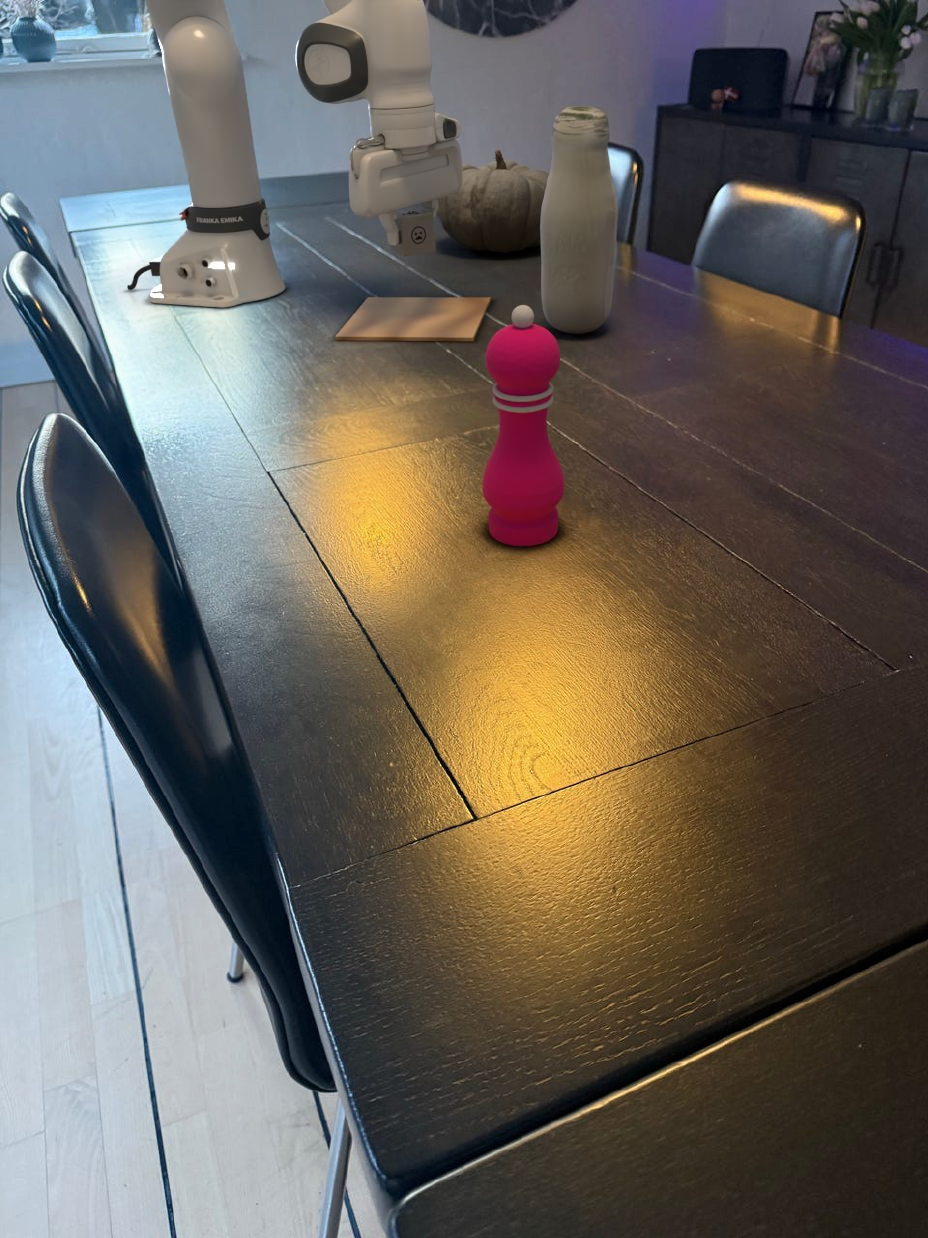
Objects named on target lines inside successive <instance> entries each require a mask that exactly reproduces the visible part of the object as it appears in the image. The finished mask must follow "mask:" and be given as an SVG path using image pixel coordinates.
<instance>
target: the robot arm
mask: <svg viewBox="0 0 928 1238" xmlns="http://www.w3.org/2000/svg"><path fill="white" fill-rule="evenodd" d="M321 1H322V3H323V5H324V8H325V9H326V11H327V13H328V16H325V17H324V18H322V19H320V20H317V21H315V22H313V23H311V24H309V25H308V26H307V27H305V28H304V30H303V31H302V32H301V34H300V35H299V37H298V40H297V43H296V47H295V66H296V71H297V74H298V77H299V80H300V83H301V84H302V86H303V87H304V89H305V90H306V92H307V93H308V94H309V95H310V96H311V97H312V98H313V99H314V100H316V101H319V102H321V103H325V104H329V105H340V104H345V103H353V102H358V101H362V100H366V102H367V106H368V107H367V108H368V118H369V128H370V136H369V137H367V138H365V137H364V138H363V137H362V138H359V139H357V140H356V141H355V144H354V145H353V146H352V148H351V150H350V151H349V167H348V194H349V195H348V198H349V200H348V201H349V208H350V210H351V212H353V214H354V215H355V216H357V217H362V218H375V217H378V220H379V222H380V224H381V226H382V227H383V228H384V231H385V232H386V242H387V244H388V245H398V244H401V231H400V230H398V228H397V226H396V223H395V221H394V219H396V218H397V215H396V212H397V211H401V210H403V209H407V208H410V207H414V206H417V205H421V208H423V210H424V211H427V212H430V213H433V216H434V220H435V219H436V217H437V216H436V213H437V210H438V198H442V197H446V196H449V195H453V194H456V193H458V192H459V191H460V188H461V185H462V164H463V157H462V148H461V144H460V142H459V141H458V140H457V139H458V138H459V137H460V136H461V123H460V121H459V120H458V119H455V118H452V117H449V116H446V115H444V114H442V113H440V112H436V109H435V108H436V106H435V105H436V104H435V97H434V94H433V91H432V86H431V75H432V70H433V57H432V44H431V33H430V25H429V19H428V15H427V8H426V6H425V3H424V0H321ZM144 3H145V6H146V8H147V11H148V14H149V17H150V20H151V22H152V26H153V28H154V31H155V34H156V37H157V40H158V43H159V46H160V49H161V54H162V55H161V57H162V65H163V70H164V75H165V80H166V85H167V89H168V95H169V99H170V103H171V107H172V113H173V117H174V121H175V127H176V130H177V135H178V139H179V144H180V148H181V153H182V157H183V158H182V159H183V164H184V167H185V174H186V178H187V183H188V189H189V194H190V198H191V203H190V204H189V205H188V206H187V207H186V208H184V209H183V211H181V212H180V213H179V214H178V215H179V216H181V217H180V221H184V222H185V225H186V229H185V231H184V232H183V233H182V234H181V235H180V236H179V238H178V239H177V240H176V241H175V242H174V243H173V244H172V245H171V247H169V248H168V249H167V251H166V252H165V253H164V254H162V255H160V256H158V257H156V258H154V259H152V260H150V261H149V262H148V264H147V265H143V267H141V268H139V269H138V270H137V271H136V272H134V275H133V278H132V282H131V283H130V284H127V286H126V289H127V290H128V291H133V290H135V289H136V287H137V285H138V282H139V279H140V277H141V276H142V275H143V274H145V273H146V272H148V271H150V273H151V276H152V277H159V280H160V281H159V282H160V284H159V285H157V286H155V287H154V288H153V289H152V290H151V291H150V293H149V300H150V302H151V303H152V304H165V305H178V306H179V305H180V306H181V305H182V306H195V307H208V308H209V307H210V308H231V307H234V306H238V305H240V304H245V303H250V302H255V301H256V302H257V301H260V300H261V301H262V300H265V299H269V298H272V297H274V296H277V295H279V294H281V293H282V292H284V291H285V290H286V284H285V282H284V279H283V277H282V275H281V272H280V270H279V267H278V265H277V261H276V258H275V255H274V250H273V247H272V243H271V242H272V241H271V239H270V236H271V225H270V217H269V213H268V212H269V211H268V210H267V205H266V199H265V198H264V197H263V196H262V189H261V183H260V177H259V171H258V164H257V156H256V152H255V151H256V150H255V144H254V137H253V130H252V123H251V122H252V121H251V116H250V108H249V101H248V95H247V87H246V86H247V85H246V79H245V74H244V66H243V60H242V55H241V52H240V49H239V46H238V45H237V42H236V40H235V36H234V33H233V30H232V26H231V23H230V18H229V15H228V12H227V11H228V10H227V7H226V5H225V1H224V0H144Z"/></svg>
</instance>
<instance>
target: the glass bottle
mask: <svg viewBox="0 0 928 1238" xmlns="http://www.w3.org/2000/svg"><path fill="white" fill-rule="evenodd" d="M609 125H610V123H609V117H608V115H607V114H606V112H604V111H603V110H602V109H599V108H596V107H594V106H589V105H583V106H582V105H581V106H580V105H579V106H567V107H565V108H564V109H563V110H561V111H560V112H559V113H557V115H556V117H555V119H554V121H553V124H552V128H551V136H550V142H551V162H550V169H549V177H548V180H547V185H546V190H545V194H544V199H543V203H542V209H541V222H540V232H541V245H540V256H541V259H540V262H541V263H540V265H541V268H540V269H541V270H540V273H541V275H540V277H541V278H540V293H541V306H542V310H543V314H544V317H545V319H546V321H547V323H548V324H549V325H550V326H551V327H553V328H554V329H556V330H557V331H560V332H563V333H567V334H573V335H583V334H587V333H592V332H593V331H595V330H597V329H598V328H599V329H600V327H601V326H602V325H603V324H604V322H605V321H607V319H608V317H609V315H610V313H611V309H612V304H613V295H614V280H615V265H616V250H617V237H618V236H617V233H618V216H619V215H618V214H619V212H618V211H619V209H618V207H619V206H618V200H617V199H618V198H617V195H616V194H617V193H616V187H615V184H614V179H613V176H612V170H611V161H610V156H609V148H608V144H609V141H610V126H609Z"/></svg>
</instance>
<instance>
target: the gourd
mask: <svg viewBox="0 0 928 1238" xmlns="http://www.w3.org/2000/svg"><path fill="white" fill-rule="evenodd" d="M494 154H495V155H494V156H495V157H494V159H495V160H493V161H490V162H488V163H487V164H486V165H481V166H479V167H477V166H475V165H472V164H469V163H462V185H461V188H460V191H459V192H458V193H456V194H453V195H449V196H446V197H442V198H438V210H437V213H436V216H435V217H437V220H438V223H439V224H440V225H441V228H442V229H443V230H444V231H445V233H446V234H447V235H448V236H449V237H450V238H451V239H452V240H453V242H454V243H455V244H457V245H458V246H460V247H461V248H463V249H466V250H469V251H480V252H486V251H488V252H491V253H501V254H502V253H503V254H508V253H511V252H521V251H523V250H525V249H526V248H537V247H538V246H541V232H540V222H541V209H542V203H543V199H544V194H545V190H546V185H547V180H548V177H549V173H550V172H549V173H548V172H547V171H546V170H545V171H544V170H541V169H531V168H530V167H528V166H526V165H524V164H518V163H517V162H516V161H513V160H511V159H510V160H509V159H504V157H503V153H502V152H501V149H496V150H494Z"/></svg>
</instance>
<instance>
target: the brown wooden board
mask: <svg viewBox="0 0 928 1238" xmlns="http://www.w3.org/2000/svg"><path fill="white" fill-rule="evenodd" d="M491 301H492V297H491V296H489V297H488V296H487V297H486V296H485V297H484V296H483V297H480V296H479V297H478V296H477V297H470V296H467V297H466V296H465V297H464V296H463V297H460V296H459V297H458V296H457V297H455V296H454V297H451V296H450V297H449V296H448V297H446V296H445V297H443V296H441V297H439V296H438V297H435V296H434V297H433V296H429V297H428V296H427V297H423V296H421V297H420V296H419V297H418V296H417V297H416V296H413V297H412V296H411V297H410V296H409V297H408V296H407V297H406V296H405V297H403V296H401V297H398V296H397V297H393V296H390V297H389V296H386V297H385V296H382V297H381V296H379V297H378V296H377V297H376V296H375V297H374V296H372V297H371V296H369V297H367V298H366V299H365V300H364V302H363V303H362V304H361V305H360V306H359V308H358V309H357V310H356V311H355V313H354V314H352V316H351V317H350V318H349V320H348V321H346V323H345V324H344V326H343V327H342V328H341V329H340V330H339V332H338V333H337V334H336V335H335V341H356V342H358V341H359V342H361V341H362V342H366V341H369V342H371V341H373V342H377V341H378V342H474V341H475V339H476V336H477V334H478V332H479V329H480V327H481V325H482V322H483V320H484V318H485V316H486V313H487V311H488V308H489V306H490V305H491Z"/></svg>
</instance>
